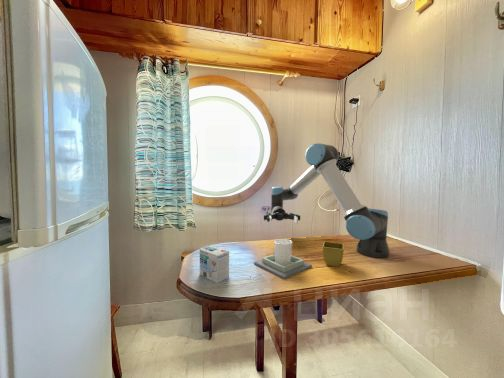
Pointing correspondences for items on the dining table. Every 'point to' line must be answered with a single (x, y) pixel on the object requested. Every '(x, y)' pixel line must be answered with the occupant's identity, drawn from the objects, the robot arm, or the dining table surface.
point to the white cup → (282, 251)
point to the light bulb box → (214, 263)
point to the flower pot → (333, 253)
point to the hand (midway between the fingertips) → (284, 220)
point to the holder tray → (283, 271)
